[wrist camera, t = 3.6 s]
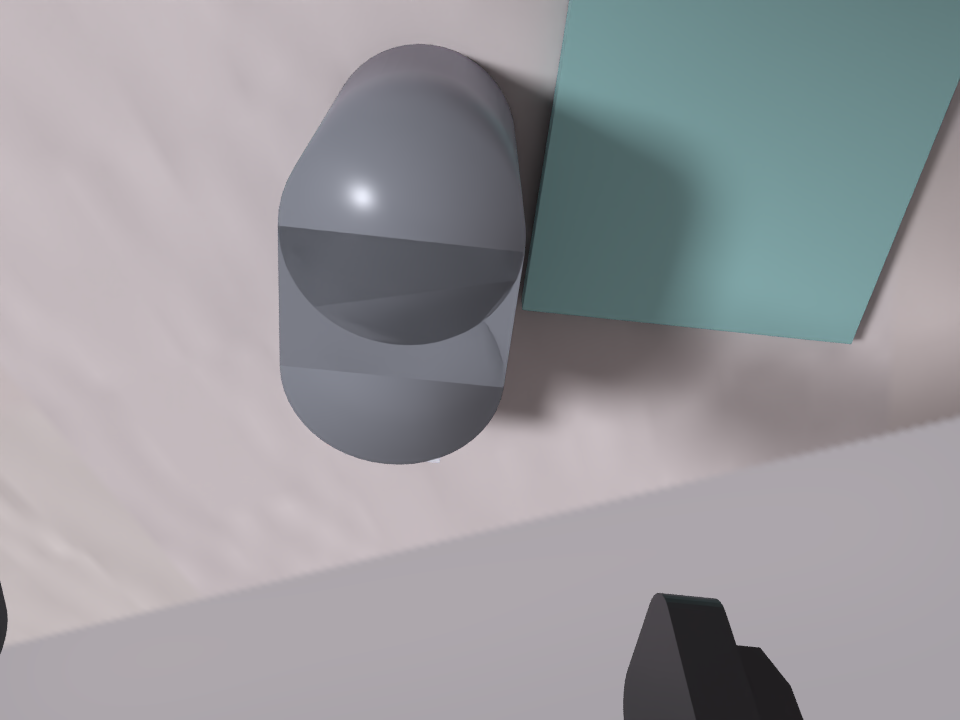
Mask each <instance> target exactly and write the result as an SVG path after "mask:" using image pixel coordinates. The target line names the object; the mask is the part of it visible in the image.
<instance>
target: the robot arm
mask: <svg viewBox="0 0 960 720" xmlns="http://www.w3.org/2000/svg"><path fill="white" fill-rule="evenodd" d="M7 622H8V618H7V609H6V604H5V600H4V596H3V591H2V587H1V583H0V653H1V651H2V648H3V645H4V641H5V637H6V631H7ZM623 710H624V711H623V712H624V720H803V718H802V715H801V712H800V710H799V707H798V704H797V702H796V699H795V696H794V694H793V691H792V688H791V686H790V685H789V683H788V682H787V681H786V680H785V678H784V677H783V676H782V675H781V673H780V672H779V671H778V670H777V668H776V667H775V666H774V665H773V663H772V662H771V661H770V659H769V658H768V657H767V656H766V655H765V653H764V652H763V651H762V649H761V648H759V647H758V648H757V647H748V646H738V645H736V643H735V640H734V637H733V634H732V631H731V627H730V624H729V621H728V618H727V616H726V612H725V610H724V607H723V605H722V604H721V602H720V601H719V600H717V599H714V598H703V597H694V596H683V595H674V594H663V593H657V594H655V595H654V596H653V598H652V600H651V602H650V605H649V608H648V611H647V614H646V617H645V620H644V623H643V626H642V629H641V632H640V635H639V638H638V641H637V644H636V647H635V650H634V653H633V656H632V659H631V662H630V665H629V667H628V671H627V674H626V679H625V686H624V698H623Z"/></svg>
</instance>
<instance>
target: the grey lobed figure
mask: <svg viewBox="0 0 960 720" xmlns="http://www.w3.org/2000/svg"><path fill="white" fill-rule="evenodd" d="M525 243H526V229H525V217H524V208H523V199H522V190H521V181H520V173H519V164H518V155H517V146H516V137H515V128H514V123H513V118H512V114H511V111H510V108H509V105H508V103H507V101H506V99H505V96H504V94H503V92H502V91H501V89H500V88H499V86H498V85H497V83H496V82H495V81H494V80H493V79H492V77H491V76H490V75H489V74H488V73H487V72H486V71H485V70H484V69H483V68H482V67H480V66H479V65H478V64H477V63H475V62H474V61H472V60H471V59H469V58H468V57H466V56H464V55H462V54H460V53H458V52H456V51H453V50H450V49H447V48H444V47H440V46H434V45H425V44H413V45H404V46H399V47H395V48H392V49H389V50H386V51H384V52H381V53H379V54H378V55H376V56H374V57H372V58H370V59H369V60H368V61H366V62H365V63H364V64H362V65H361V66H360V67H359V68H358V69H357V70H356V71H355V72H354V73H353V74H352V75H351V76H350V78H349V79H348V80H347V82H346V83H345V84H344V86H343V88H342V89H341V91H340V93H339V94H338V96H337V98H336V99H335V101H334V103H333V104H332V106H331V108H330V109H329V111H328V112H327V114H326V116H325V117H324V119H323V121H322V122H321V124H320V126H319V127H318V129H317V131H316V132H315V134H314V136H313V137H312V139H311V141H310V142H309V144H308V146H307V147H306V149H305V150H304V152H303V154H302V155H301V157H300V159H299V160H298V162H297V164H296V165H295V167H294V169H293V171H292V173H291V174H290V176H289V178H288V180H287V182H286V185H285V188H284V191H283V193H282V197H281V202H280V206H279V214H278V271H279V340H280V372H281V380H282V384H283V388H284V391H285V394H286V396H287V399H288V401H289V403H290V405H291V406H292V408H293V410H294V412H295V413H296V414H297V416H298V417H299V418H300V420H301V421H302V422H303V423H304V424H305V425H306V426H307V427H308V429H309V430H310V431H311V432H312V433H314V434H315V435H316V436H317V437H319V438H320V439H321V440H322V441H324V442H326V443H327V444H329V445H330V446H332V447H334V448H335V449H337V450H339V451H342V452H344V453H345V454H348V455H351V456H354V457H356V458H359V459H363V460H367V461H371V462H377V463H384V464H414V463H420V462H435V463H440V457H443V456H445V455H448V454H450V453H452V452H454V451H456V450H458V449H460V448H461V447H463V446H465V445H466V444H467V443H469V442H470V441H471V440H473V439H474V438H475V437H476V436H477V435H478V434H479V433H480V432H481V431H482V430H483V429H484V428H485V427H486V425H487V424H488V423H489V422H490V420H491V419H492V417H493V415H494V413H495V412H496V410H497V407H498V405H499V402H500V400H501V396H502V392H503V388H504V381H505V375H506V369H507V362H508V356H509V349H510V343H511V337H512V330H513V324H514V318H515V311H516V305H517V298H518V292H519V286H520V279H521V273H522V266H523V260H524V254H525Z"/></svg>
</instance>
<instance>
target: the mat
mask: <svg viewBox="0 0 960 720" xmlns="http://www.w3.org/2000/svg"><path fill="white" fill-rule="evenodd" d="M959 79H960V0H569V6H568V12H567V18H566V24H565V31H564V37H563V43H562V50H561V56H560V62H559V68H558V75H557V81H556V87H555V93H554V100H553V106H552V112H551V118H550V125H549V131H548V137H547V144H546V150H545V156H544V162H543V169H542V175H541V181H540V187H539V194H538V200H537V206H536V212H535V219H534V225H533V231H532V238H531V244H530V250H529V256H528V263H527V269H526V275H525V281H524V288H523V294H522V310H528V311H538V312H547V313H557V314H566V315H576V316H586V317H595V318H605V319H614V320H624V321H634V322H643V323H653V324H662V325H672V326H682V327H691V328H701V329H710V330H720V331H730V332H739V333H749V334H758V335H768V336H777V337H787V338H797V339H806V340H816V341H825V342H835V343H845V344H851V343H852V341H853V338H854V336H855V333H856V331H857V329H858V326H859V324H860V321H861V319H862V316H863V314H864V311H865V309H866V307H867V304H868V302H869V299H870V297H871V294H872V292H873V289H874V287H875V285H876V282H877V280H878V277H879V275H880V272H881V270H882V267H883V265H884V263H885V260H886V258H887V255H888V253H889V250H890V248H891V245H892V243H893V241H894V238H895V236H896V233H897V231H898V228H899V226H900V223H901V221H902V219H903V216H904V214H905V211H906V209H907V206H908V204H909V201H910V199H911V197H912V194H913V192H914V189H915V187H916V184H917V182H918V179H919V177H920V175H921V172H922V170H923V167H924V165H925V162H926V160H927V157H928V155H929V153H930V150H931V148H932V145H933V143H934V140H935V138H936V135H937V133H938V130H939V128H940V126H941V123H942V121H943V118H944V116H945V113H946V111H947V108H948V106H949V104H950V101H951V99H952V96H953V94H954V91H955V89H956V86H957V84H958V82H959Z"/></svg>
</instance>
